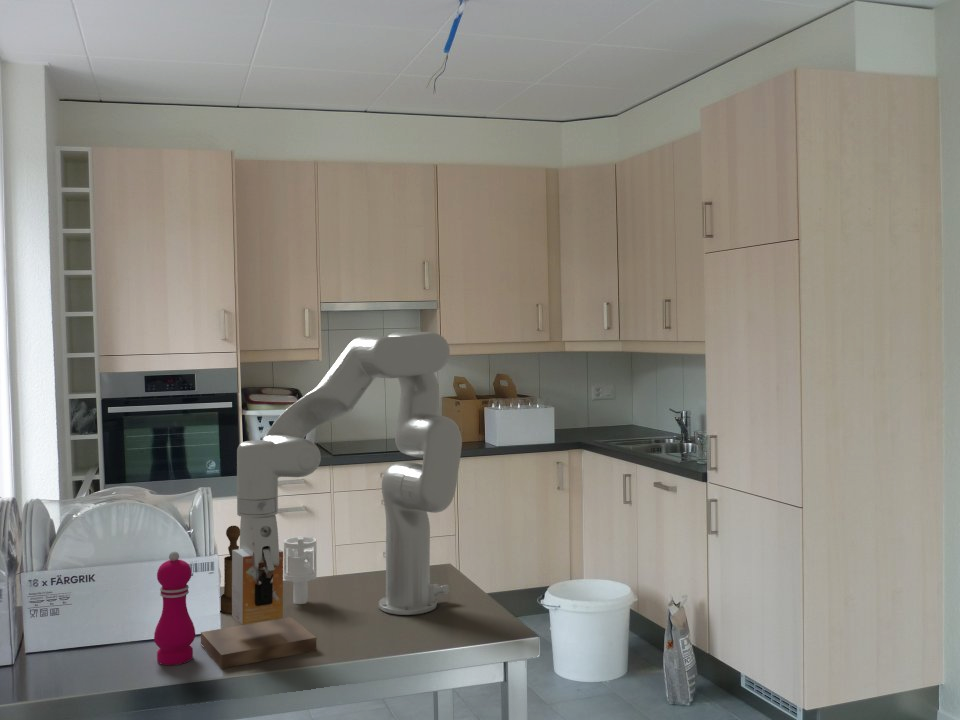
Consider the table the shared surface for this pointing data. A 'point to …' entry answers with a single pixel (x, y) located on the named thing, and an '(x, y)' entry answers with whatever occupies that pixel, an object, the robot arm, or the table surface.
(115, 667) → the table surface
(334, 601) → the table surface
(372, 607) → the table surface
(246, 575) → the small box
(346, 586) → the table surface
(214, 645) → the walnut board
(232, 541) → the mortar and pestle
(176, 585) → the pepper mill
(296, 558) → the white slotted cylindrical holder
